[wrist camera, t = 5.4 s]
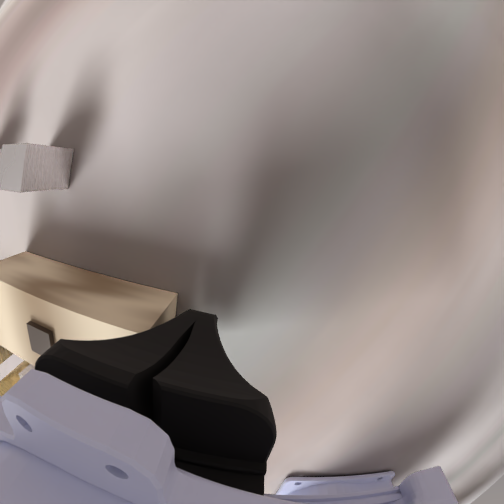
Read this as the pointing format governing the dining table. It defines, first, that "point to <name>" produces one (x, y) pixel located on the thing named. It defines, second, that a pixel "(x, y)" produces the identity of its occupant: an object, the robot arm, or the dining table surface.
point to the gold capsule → (12, 378)
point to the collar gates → (33, 180)
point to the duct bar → (71, 305)
